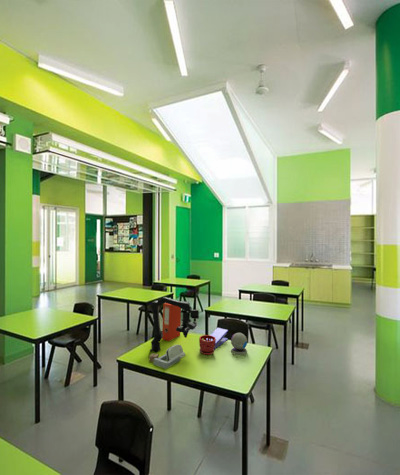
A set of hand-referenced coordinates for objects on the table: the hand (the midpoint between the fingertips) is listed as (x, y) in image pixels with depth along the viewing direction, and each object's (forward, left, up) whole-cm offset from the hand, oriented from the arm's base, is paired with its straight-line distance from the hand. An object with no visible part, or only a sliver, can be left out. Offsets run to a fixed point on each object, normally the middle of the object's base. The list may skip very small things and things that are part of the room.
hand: (185, 337), depth 218 cm
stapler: (+11, +30, -12) cm, 34 cm away
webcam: (+35, +26, -12) cm, 45 cm away
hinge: (0, -13, -12) cm, 18 cm away
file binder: (-29, +19, -12) cm, 36 cm away
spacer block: (-10, -26, -12) cm, 30 cm away
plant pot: (+15, +9, -12) cm, 21 cm away
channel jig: (0, -22, -11) cm, 25 cm away
